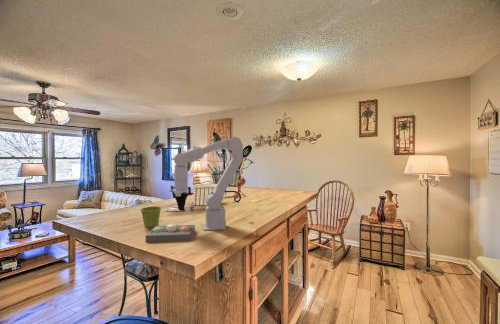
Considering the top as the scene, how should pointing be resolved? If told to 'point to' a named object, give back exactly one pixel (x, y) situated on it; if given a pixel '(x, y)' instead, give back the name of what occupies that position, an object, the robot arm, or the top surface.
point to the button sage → (158, 229)
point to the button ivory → (172, 228)
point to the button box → (170, 234)
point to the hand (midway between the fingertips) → (181, 209)
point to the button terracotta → (184, 228)
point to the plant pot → (151, 216)
